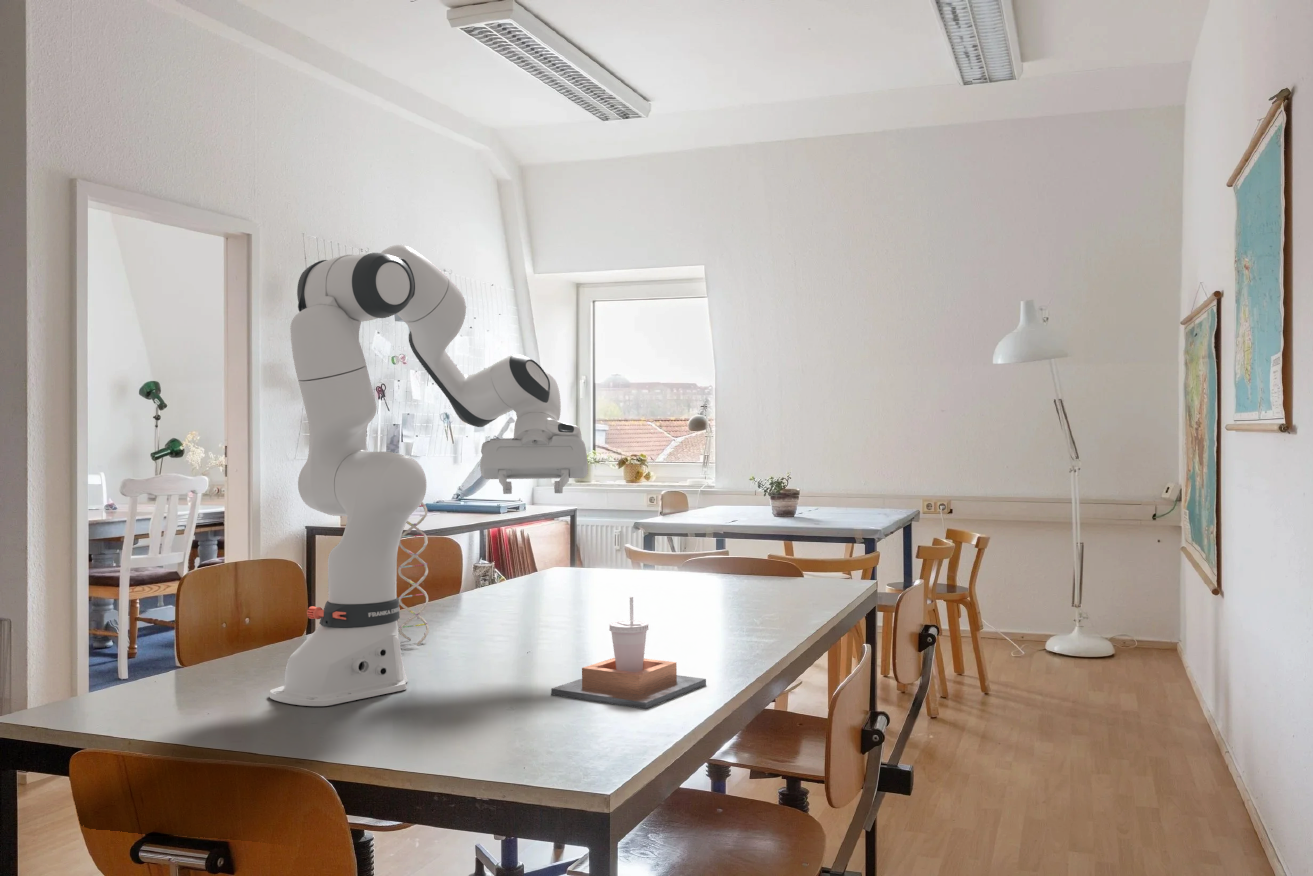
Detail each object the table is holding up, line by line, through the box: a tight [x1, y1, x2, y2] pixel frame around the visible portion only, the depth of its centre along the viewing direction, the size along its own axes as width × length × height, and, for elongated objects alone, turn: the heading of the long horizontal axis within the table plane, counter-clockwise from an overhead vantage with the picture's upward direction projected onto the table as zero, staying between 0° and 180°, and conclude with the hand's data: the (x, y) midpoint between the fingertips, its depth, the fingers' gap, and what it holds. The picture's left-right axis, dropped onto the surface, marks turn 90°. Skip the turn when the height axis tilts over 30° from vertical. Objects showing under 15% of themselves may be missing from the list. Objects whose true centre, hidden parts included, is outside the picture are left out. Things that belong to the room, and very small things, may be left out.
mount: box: [550, 657, 707, 710], centre depth 170 cm, size 18×18×4 cm
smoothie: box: [608, 596, 649, 672], centre depth 170 cm, size 6×6×14 cm
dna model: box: [397, 501, 430, 646], centre depth 213 cm, size 7×6×30 cm
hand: (532, 491), depth 194 cm, fingers open, 8 cm apart
